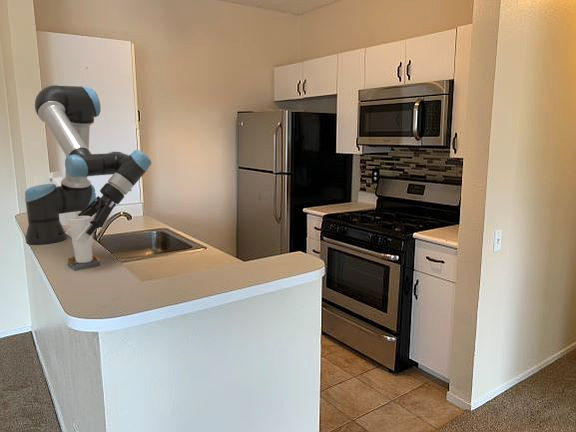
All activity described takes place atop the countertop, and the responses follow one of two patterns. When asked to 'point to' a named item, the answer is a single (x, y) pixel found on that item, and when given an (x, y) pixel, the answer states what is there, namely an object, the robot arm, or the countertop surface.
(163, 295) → the countertop surface
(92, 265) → the square coaster
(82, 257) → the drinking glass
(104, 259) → the countertop surface
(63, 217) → the milk
